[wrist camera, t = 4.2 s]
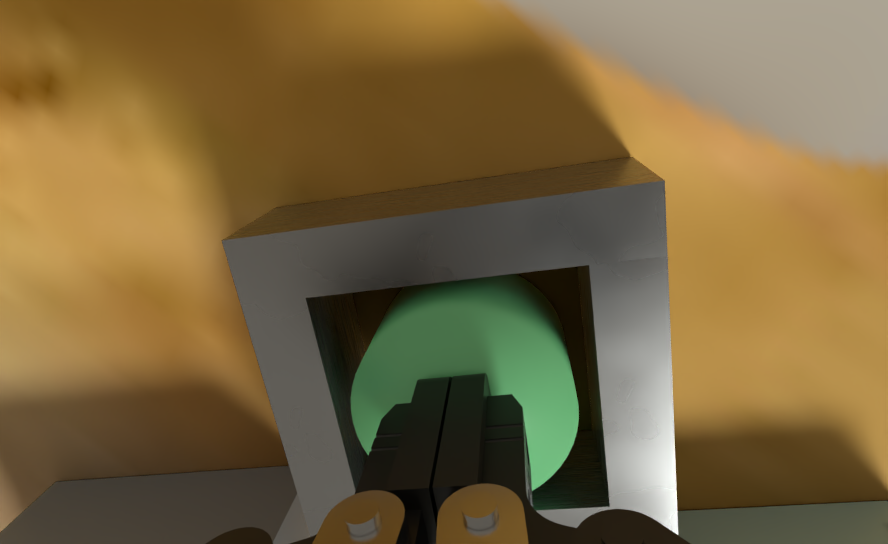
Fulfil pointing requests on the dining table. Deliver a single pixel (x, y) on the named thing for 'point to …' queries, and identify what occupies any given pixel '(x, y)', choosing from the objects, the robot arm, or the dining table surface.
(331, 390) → the grey button housing
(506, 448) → the robot arm
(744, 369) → the dining table surface
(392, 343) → the button
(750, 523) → the tray
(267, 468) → the tray
